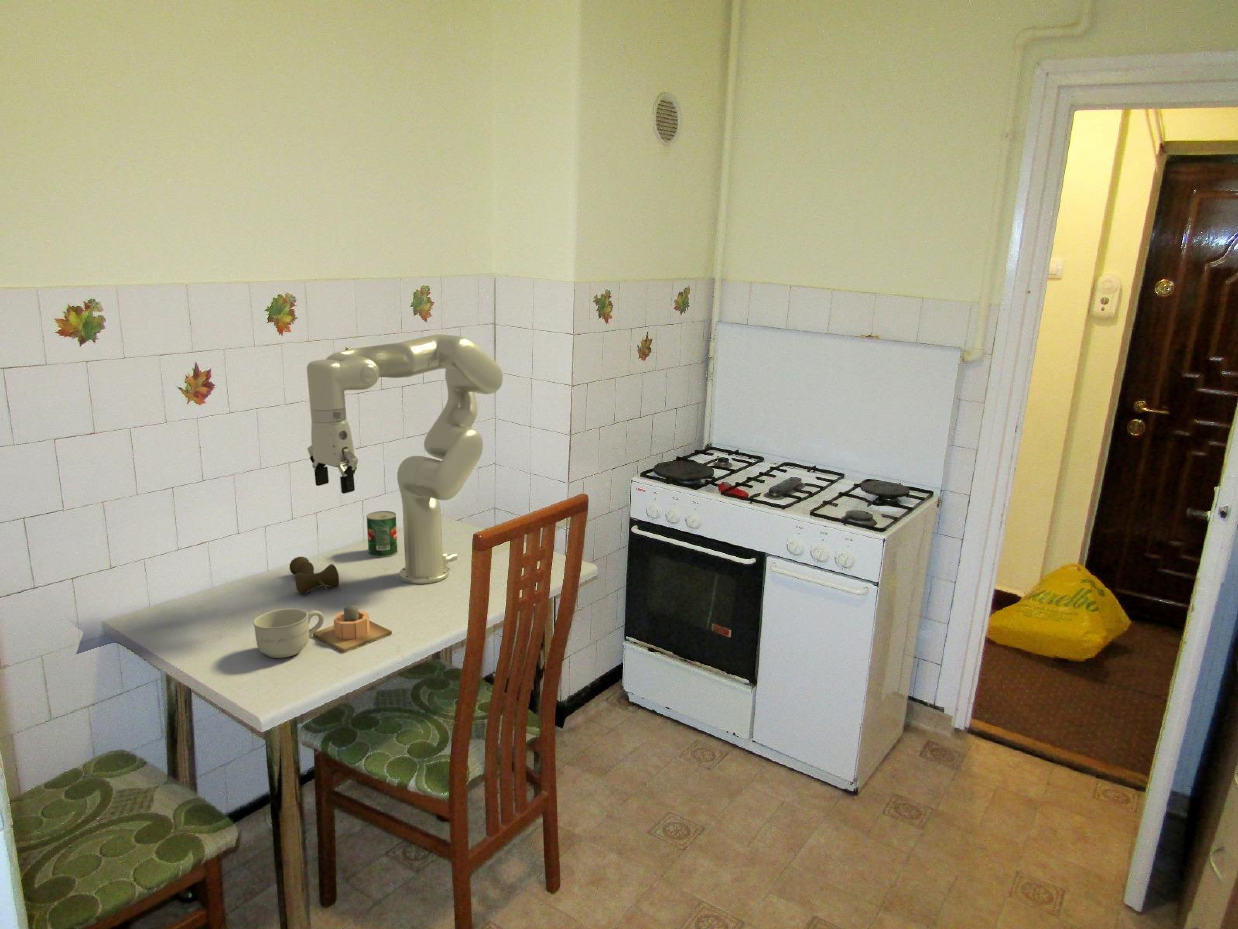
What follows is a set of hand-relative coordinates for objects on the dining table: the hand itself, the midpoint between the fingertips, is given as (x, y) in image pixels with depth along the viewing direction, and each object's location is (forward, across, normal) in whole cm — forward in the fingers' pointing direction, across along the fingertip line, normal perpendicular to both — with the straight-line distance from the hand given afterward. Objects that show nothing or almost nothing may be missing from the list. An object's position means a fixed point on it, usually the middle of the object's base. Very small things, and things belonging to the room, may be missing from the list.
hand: (335, 488), depth 203 cm
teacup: (+29, -12, +22) cm, 38 cm away
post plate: (+29, -15, +9) cm, 34 cm away
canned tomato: (+30, +22, -28) cm, 47 cm away
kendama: (+30, +16, -2) cm, 34 cm away
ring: (+28, -15, +9) cm, 33 cm away
